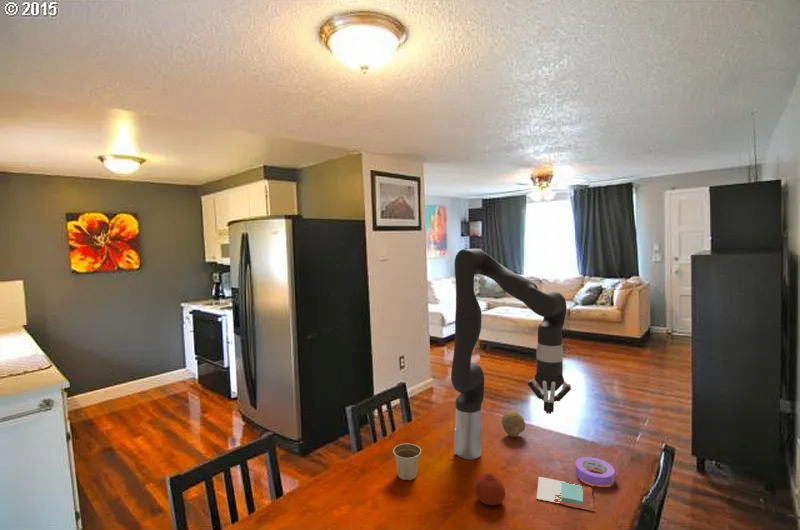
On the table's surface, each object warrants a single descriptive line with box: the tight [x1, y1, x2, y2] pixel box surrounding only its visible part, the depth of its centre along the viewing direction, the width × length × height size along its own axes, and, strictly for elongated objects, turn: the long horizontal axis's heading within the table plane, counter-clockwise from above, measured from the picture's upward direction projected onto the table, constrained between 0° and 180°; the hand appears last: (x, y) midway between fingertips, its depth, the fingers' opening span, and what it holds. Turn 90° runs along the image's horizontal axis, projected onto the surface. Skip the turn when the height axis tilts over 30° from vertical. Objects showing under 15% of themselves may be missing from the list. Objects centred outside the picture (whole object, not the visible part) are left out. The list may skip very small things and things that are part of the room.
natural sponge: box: [501, 410, 526, 438], centre depth 162 cm, size 9×9×10 cm
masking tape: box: [574, 456, 616, 485], centre depth 134 cm, size 12×12×4 cm
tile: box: [561, 481, 583, 505], centre depth 124 cm, size 1×8×6 cm
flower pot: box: [392, 442, 422, 481], centre depth 136 cm, size 9×9×9 cm
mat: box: [536, 476, 567, 503], centre depth 126 cm, size 16×12×1 cm
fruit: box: [474, 473, 506, 506], centre depth 122 cm, size 9×9×8 cm
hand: (548, 412), depth 126 cm, fingers closed
